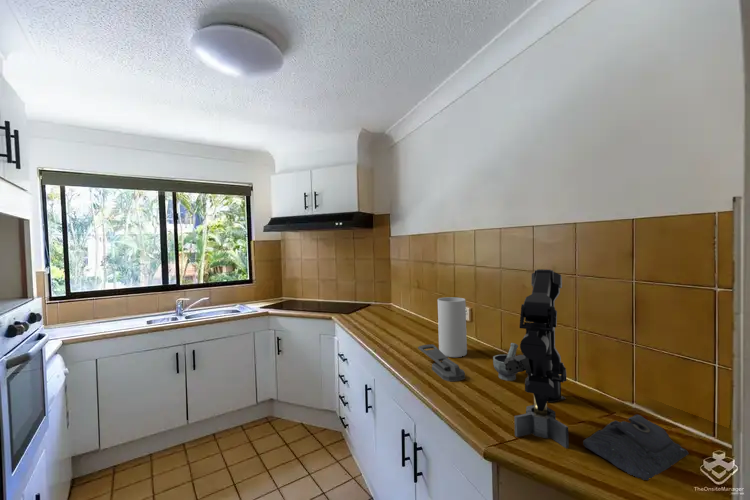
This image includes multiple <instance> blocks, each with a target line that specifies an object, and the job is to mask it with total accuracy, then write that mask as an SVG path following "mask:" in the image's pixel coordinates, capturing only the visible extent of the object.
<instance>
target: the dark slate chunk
mask: <svg viewBox="0 0 750 500" xmlns="http://www.w3.org/2000/svg"><path fill="white" fill-rule="evenodd" d="M582 443H583V446H584V448H586V449H588V450H589V451H591V452H593V453H594V454H595V455H597V456H600V457H601V458H602V459H604V460H607V461H608V462H610V464H612V465H613V466H615V467H616V468H618V469H620V470H621V471H623V472H625V473H626V472H627V473H626V474H628V475H629V474H630V475H629V476H631V475H633V476H632V477H634V476H635V477H634V478H636V477H637V479H639V478H641V479H640V480H643V481H644V480H647V481H649V480H650V479H649V478H652V477H653V478H654V476H657V475H659V474H661V473H662V472H664V471H666V470H668V469H670V468H671V467H672V466H674V465H675V464H677V463H678V462H679V461H680V460H682V459H683V458H685V457H686V456H688V455H689V454H690V453H689V451H688V450H687V449H685V448H683V447H682V446H681V445H680V444H679V443H676V442H675V441H673V440H672V439H671V437H670V436H669V434H668V433H667V431H666V430H665V429H664V428H663V427H661V426H659V425H658V424H656V423H653V422H651V421H650V420H648V419H647V418H645V417H643V416H642V415H641V414H634V415H633V416H631V417H629V418H628V421H624V420H622V421H618V420H614V421H610V423H608V424H606V426H604V427H603V428H602V429H601V430H600V429H599V430H597V431H596V432H594V433H593V434H592V435H591V436H588V437H585V439H584V440H582ZM653 478H652V479H653Z"/></svg>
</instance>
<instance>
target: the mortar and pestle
mask: <svg viewBox="0 0 750 500" xmlns="http://www.w3.org/2000/svg"><path fill="white" fill-rule="evenodd" d="M518 347H519V344H517V343H514V342H511V343H510V347H509V350H508V353H507V354H496V355H493V356H492V363H493V368H494V370H495V371H496V372H497V373H498V379H500V380H504V381H506V382H507V381H510V382H512V381H516V380H517V376H516V375H517V374H518V373H519V372H517V373H514V374H508V371H507V370H506V369H505V368H506V366H505V364H504V361H505V359H506V358H509V357H513V356H517V355H516V353H517V350H518Z"/></svg>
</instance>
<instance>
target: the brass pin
mask: <svg viewBox="0 0 750 500" xmlns="http://www.w3.org/2000/svg"><path fill="white" fill-rule="evenodd" d="M533 405H534V413H535V414H536V415H541V416H547V407H548V402H547V403H546V405H545V408H544V410H543V411H539V410H538V408H537V404H536V400H535V397H534V396H533Z"/></svg>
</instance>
